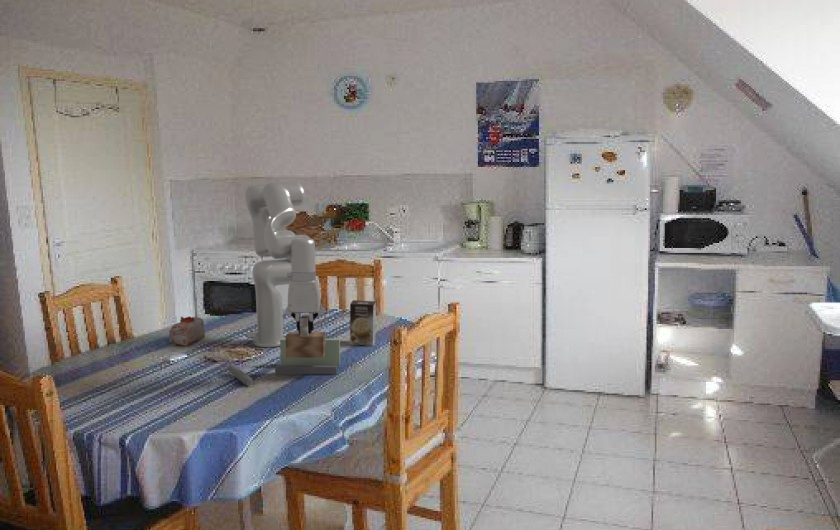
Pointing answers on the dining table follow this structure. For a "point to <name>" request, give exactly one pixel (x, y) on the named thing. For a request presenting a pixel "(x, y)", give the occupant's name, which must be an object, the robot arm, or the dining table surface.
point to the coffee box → (362, 323)
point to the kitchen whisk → (235, 371)
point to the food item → (187, 331)
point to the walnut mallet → (305, 342)
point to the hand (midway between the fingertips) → (305, 332)
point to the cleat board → (310, 360)
